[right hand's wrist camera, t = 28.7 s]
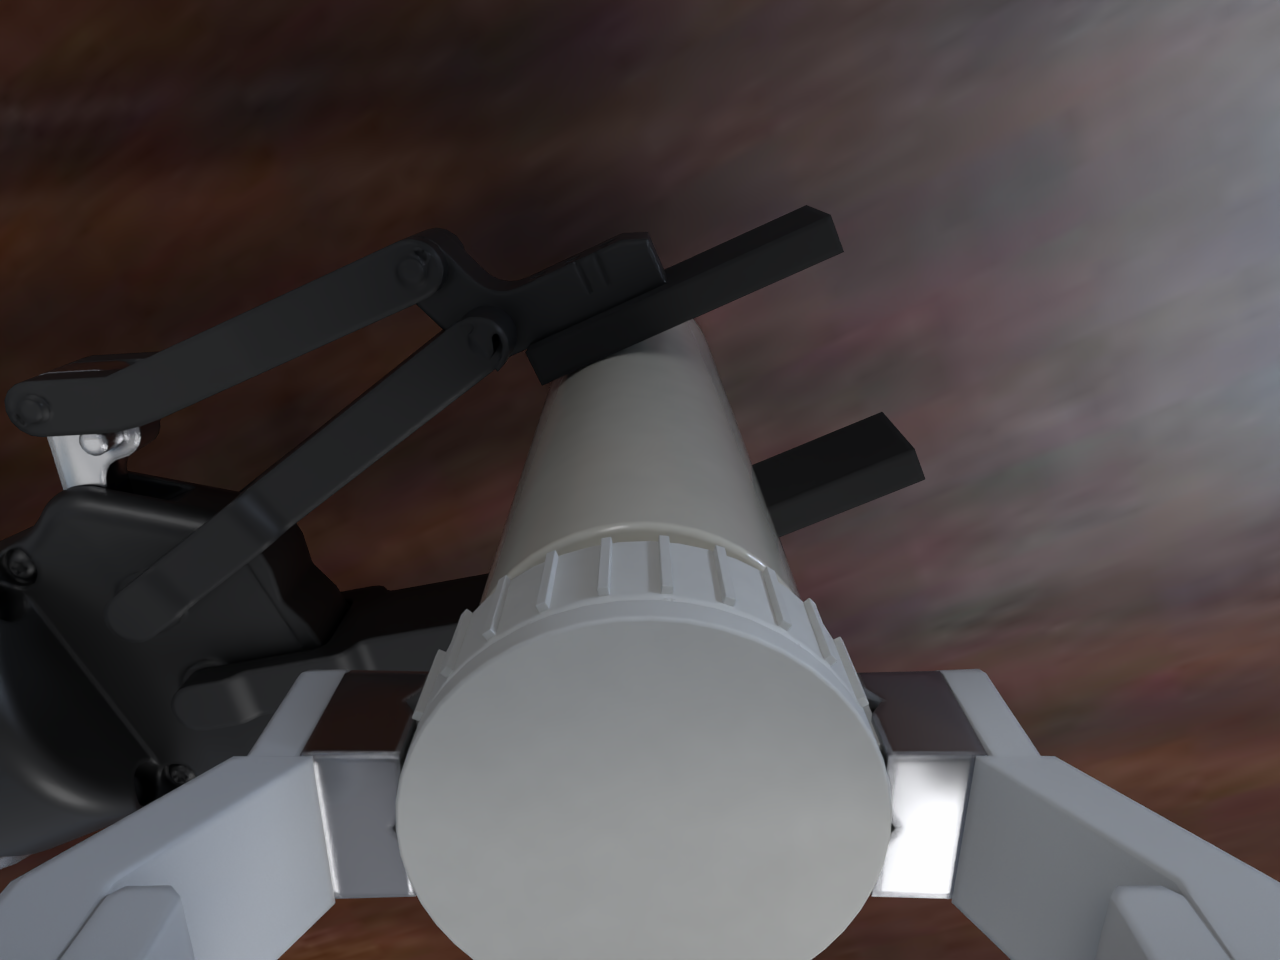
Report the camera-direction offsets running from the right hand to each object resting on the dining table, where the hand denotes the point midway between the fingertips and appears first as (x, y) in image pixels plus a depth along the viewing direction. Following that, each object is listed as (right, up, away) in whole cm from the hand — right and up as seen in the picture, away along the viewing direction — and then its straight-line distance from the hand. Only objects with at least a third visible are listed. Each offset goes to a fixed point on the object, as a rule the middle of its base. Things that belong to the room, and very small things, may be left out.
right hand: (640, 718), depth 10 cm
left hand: (+5, +6, +9) cm, 12 cm away
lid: (0, -1, -2) cm, 2 cm away
